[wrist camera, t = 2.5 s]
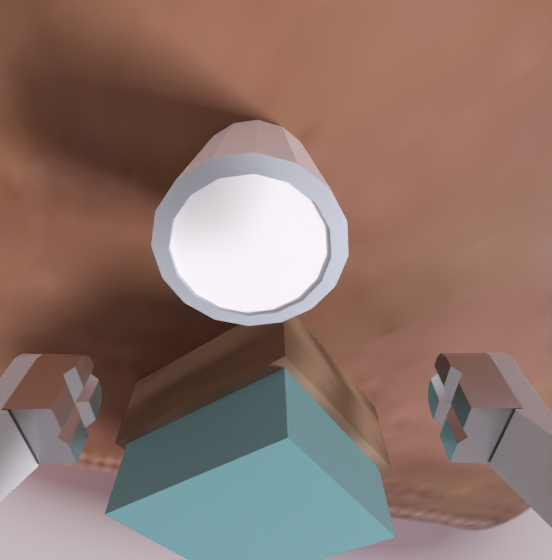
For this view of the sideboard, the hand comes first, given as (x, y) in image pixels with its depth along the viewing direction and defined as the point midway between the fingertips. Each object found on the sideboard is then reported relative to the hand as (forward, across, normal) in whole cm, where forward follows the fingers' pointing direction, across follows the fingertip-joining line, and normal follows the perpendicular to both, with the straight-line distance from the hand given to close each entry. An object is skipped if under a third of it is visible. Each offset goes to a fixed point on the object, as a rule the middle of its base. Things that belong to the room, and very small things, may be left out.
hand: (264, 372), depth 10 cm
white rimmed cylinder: (+13, +1, 0) cm, 13 cm away
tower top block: (+8, +1, +16) cm, 17 cm away
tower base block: (+13, +1, +15) cm, 20 cm away
